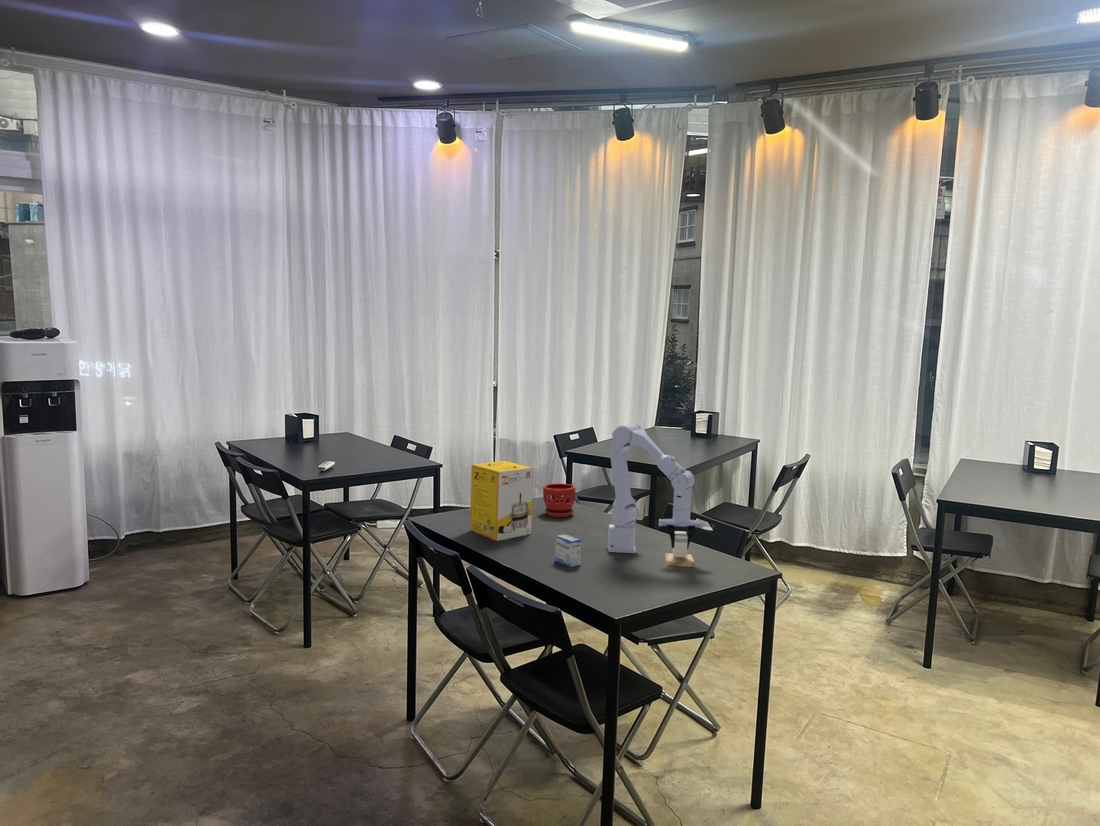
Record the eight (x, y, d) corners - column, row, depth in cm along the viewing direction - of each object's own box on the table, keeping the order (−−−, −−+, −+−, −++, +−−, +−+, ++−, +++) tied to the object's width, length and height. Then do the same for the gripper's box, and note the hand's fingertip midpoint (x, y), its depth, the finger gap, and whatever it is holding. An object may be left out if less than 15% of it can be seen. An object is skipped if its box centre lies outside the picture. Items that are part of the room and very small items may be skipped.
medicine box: (554, 561, 262) (555, 535, 261) (564, 559, 265) (565, 533, 264) (570, 567, 256) (571, 541, 255) (580, 565, 259) (581, 539, 258)
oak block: (666, 567, 261) (667, 561, 261) (664, 558, 270) (664, 553, 270) (694, 568, 261) (694, 562, 261) (690, 560, 270) (691, 554, 269)
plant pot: (575, 511, 330) (577, 483, 328) (572, 519, 317) (573, 490, 315) (544, 509, 331) (545, 481, 330) (540, 517, 319) (541, 488, 317)
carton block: (674, 556, 262) (675, 535, 261) (672, 551, 268) (673, 531, 267) (686, 557, 262) (687, 536, 261) (684, 551, 268) (685, 531, 267)
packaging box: (504, 524, 306) (505, 460, 303) (531, 534, 294) (533, 467, 291) (469, 531, 295) (471, 464, 292) (496, 541, 283) (498, 472, 280)
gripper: (660, 509, 260) (658, 550, 261) (705, 511, 259) (703, 552, 260) (659, 504, 267) (657, 544, 268) (702, 506, 266) (700, 546, 267)
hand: (679, 547), depth 265 cm, fingers closed on carton block, 4 cm apart
